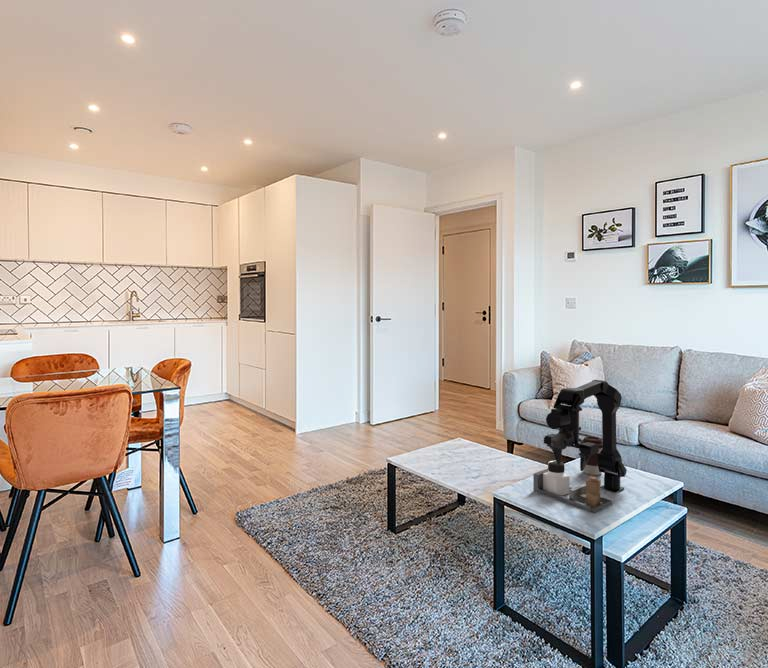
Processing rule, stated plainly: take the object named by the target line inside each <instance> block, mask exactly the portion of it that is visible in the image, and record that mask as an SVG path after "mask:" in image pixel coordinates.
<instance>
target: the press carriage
mask: <svg viewBox="0 0 768 668" xmlns="http://www.w3.org/2000/svg"><path fill="white" fill-rule="evenodd" d="M601 483H602V481H601V479H599V478H598V477H595V476H589V477H588V479H586V480H585V484H579V485H577V486H575V487H572V489H569V494H568V495H569V496H568V498H569V499H572V500H575V501H578V502H581V503H584V504H586V505H589V506H592V507H594V506H596V505H598V504H600V503H601V502H600V499H601V497H602V496H601V489H602V488H601V486H602V484H601Z"/></svg>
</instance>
